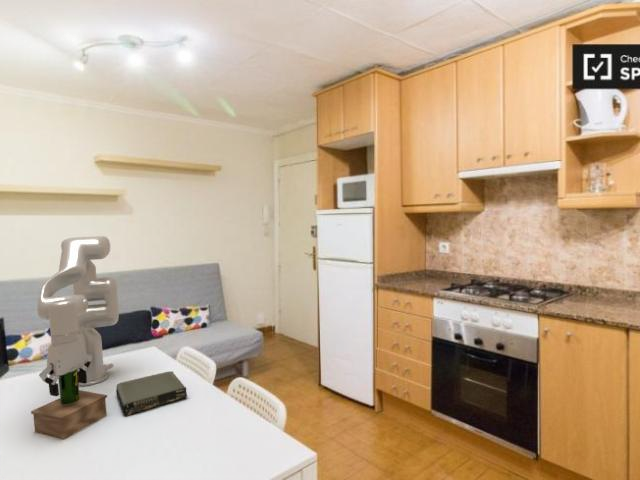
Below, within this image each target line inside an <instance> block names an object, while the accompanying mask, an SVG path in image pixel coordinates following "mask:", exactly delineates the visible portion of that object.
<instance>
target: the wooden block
mask: <svg viewBox="0 0 640 480" xmlns="http://www.w3.org/2000/svg"><path fill="white" fill-rule="evenodd" d="M79 395H80V399H79V401H78V402H77V403H76V404H73V405H70V406H62V404H61V403H60V397H59V398H57V399H55V400H52V401H51V402H48V403H46V404H44V405H41V406H40V407H37V408H35V409H33V410H31V411H30V414H31V415H32V416H33V426H34V433H37V434H41V435H45V436H49V437H53V438H58V439H61V440H65V439H67V438H68V437H70V436H72V435H74V434H76V433H78V432H79V431H81V430H83V429H85V428H86V427H88V426H90V425H92V424H94V423H95V422H97V421H100V420H101V419H103V418H104V417H106V416H107V415H108V413H107V404H106V403H107V402H106V398H108V394H103V393H97V392H92V391H86V390H82V389H81V390H80V389H79Z"/></svg>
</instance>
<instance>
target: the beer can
mask: <svg viewBox="0 0 640 480" xmlns="http://www.w3.org/2000/svg"><path fill="white" fill-rule="evenodd" d="M57 381H58V388H59V398H60V403H61V404H62V406H70V405H73V404H76V403H77V402H78V401H79V399H80V395H79V390H80V386H79V383H78V371H77V369H76V368H75V367H73V368H71V370H70V371H69V372H68V373H67V374H65V375H62V376H60V377H59V379H58V380H57Z"/></svg>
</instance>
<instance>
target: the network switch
mask: <svg viewBox="0 0 640 480" xmlns="http://www.w3.org/2000/svg"><path fill="white" fill-rule="evenodd" d="M115 392H116V397H117V399H118V402H119V406H120V409H121V411H122V415H124V417H128V416H129V415H130V416H131V415H132V414H134V413H138V412H139V413H140V412H141V411H145V410H151V409H153V408H157V407H159V406H160V407H162V406H163V405H166V404H169V403H172V402H176V401H179V400H183V399H184V400H186V399H187V387H186V386H185V385H184V383H183V382H182V381H181V380H180V379H179V378H178V377H177V375H176V374H175V373H174V371H169V370H168V371H165V372H161V373H156V374H155V373H154V374H152V375H147V376H144V377H143V376H142V377H139V378H138V377H137V378H134V379H130V380H127V381H122V382H119V383H117V384H116V390H115Z"/></svg>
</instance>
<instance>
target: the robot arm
mask: <svg viewBox="0 0 640 480" xmlns="http://www.w3.org/2000/svg"><path fill="white" fill-rule="evenodd" d="M60 247H61V255H60V261H59V268H58V272H56V273H54V274H53V275H52V276H51V277H50V278H48V280H47V281H45V283H43V285H42V287H41V288H40V290H39V296H38V299H37V308H36V310H37V315H38V316H39V318H40V319H42V320H44V321H45V320H46V321H47V320H48V321H49V330H50V344H49V345H48V348H47V354H46V368H45V369H43V370H42V371H41V372H40V373H39V374H38V376H39V378H40V379H41V380H42V382H44V383H46V384H47V385H48V390H49V391H48V392H49V393H48V394H49V395H50V396H53V397H58V396H60V391H59V383H57V382H58V381H59V380H58V379H59V377H60V376H62V375H65V374H67V373H68V372H69V371H70V370H71V368H73V367H75V368H76V369H77V371H78V383H79V387H86V386H92V385H96V384H99V383H101V382H103V381H106V380H107V379H108V378H109V373H108V372H107V371H108V370H110V369H113V368H114V363H109V364H106V363H105V364H104V355H103V343H102V335H101V334H100V333H99V332H98V331H97V329H95V328H102V327H110V326H114V325H116V324H117V323H118V322H119V314H120V313H119V312H120V311H119V297H118V288H117V287H118V286H117V282H116V281H115V279H114V278H113V277H97V267H96V265H95V264H94V262H93V261H96V260H103V259H105V258H106V257H108V255H109V254H110V251H111V243H110V239H109V238H108V237H107V236H105V235H102V236H99V235H98V236H97V235H96V236H79V237H76V236H75V237H69V238H67V239H64V240H62V242H61V243H60ZM92 260H93V261H92ZM71 285H72V287H73V289H72V291H73V294H71V295H69V294H68V295H59V296H54V295H55V294H56V293H58V291H59V292H60V290H62V289H64V288H66V287H68V286H71ZM99 301H103V302H105V303H97V304H96V303H95V304H89V302H99ZM48 375H49V376H48Z"/></svg>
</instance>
